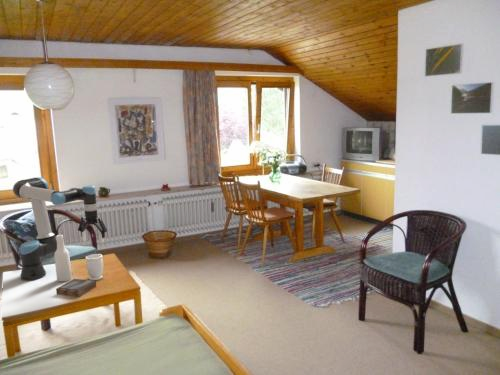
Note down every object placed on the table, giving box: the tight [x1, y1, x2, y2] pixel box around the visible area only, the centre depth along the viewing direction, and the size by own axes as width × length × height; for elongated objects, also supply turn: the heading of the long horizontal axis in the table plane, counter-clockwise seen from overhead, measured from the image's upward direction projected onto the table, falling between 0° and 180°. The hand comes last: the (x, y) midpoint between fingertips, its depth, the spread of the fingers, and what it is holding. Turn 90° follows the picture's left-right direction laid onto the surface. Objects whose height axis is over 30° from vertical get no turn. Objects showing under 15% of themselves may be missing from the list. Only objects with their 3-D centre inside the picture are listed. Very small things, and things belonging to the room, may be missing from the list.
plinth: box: [55, 278, 97, 298], centre depth 263 cm, size 16×16×4 cm
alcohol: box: [53, 234, 73, 283], centre depth 279 cm, size 9×9×30 cm
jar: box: [85, 253, 104, 281], centre depth 281 cm, size 11×10×15 cm
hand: (93, 242), depth 279 cm, fingers open, 13 cm apart
